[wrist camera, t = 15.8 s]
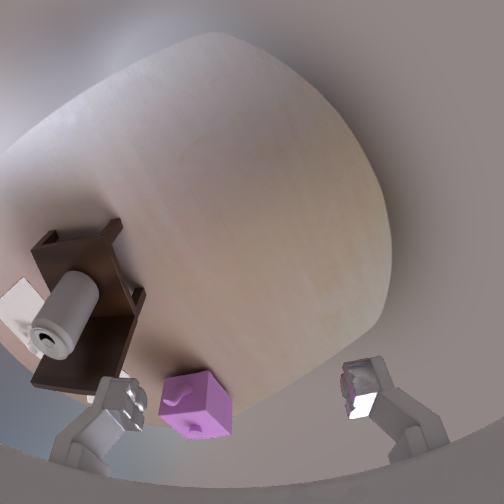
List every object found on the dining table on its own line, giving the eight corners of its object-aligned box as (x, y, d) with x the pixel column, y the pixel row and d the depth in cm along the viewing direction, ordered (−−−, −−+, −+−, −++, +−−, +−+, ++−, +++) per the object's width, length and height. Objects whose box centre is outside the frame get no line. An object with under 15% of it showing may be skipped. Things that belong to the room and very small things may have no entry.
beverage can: (98, 270, 38) (62, 332, 28) (103, 306, 41) (75, 367, 31) (60, 264, 37) (20, 320, 27) (68, 299, 41) (36, 355, 30)
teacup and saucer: (18, 326, 53) (10, 338, 49) (32, 317, 51) (24, 330, 47) (43, 351, 57) (37, 364, 53) (59, 344, 55) (52, 358, 51)
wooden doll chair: (49, 231, 41) (-22, 311, 24) (120, 218, 41) (55, 310, 24) (79, 300, 48) (34, 387, 31) (146, 296, 48) (113, 398, 31)
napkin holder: (100, 394, 65) (95, 412, 60) (68, 367, 59) (60, 386, 54) (139, 384, 61) (134, 404, 56) (104, 354, 56) (96, 375, 51)
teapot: (236, 399, 64) (236, 446, 54) (197, 405, 66) (193, 451, 55) (196, 347, 54) (189, 403, 44) (151, 356, 56) (139, 408, 45)
